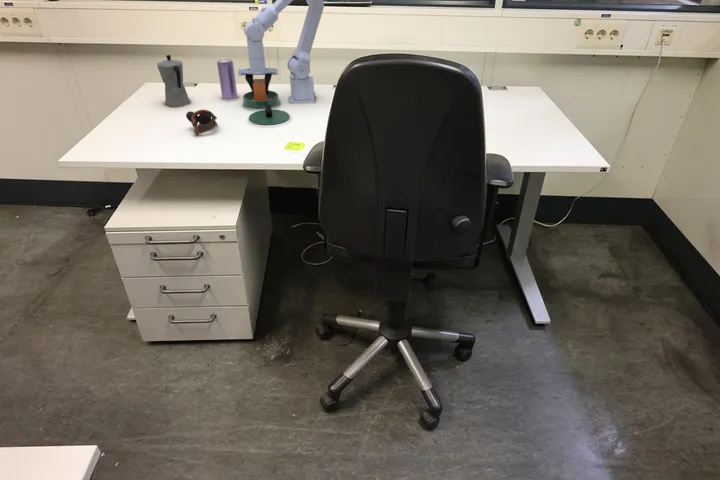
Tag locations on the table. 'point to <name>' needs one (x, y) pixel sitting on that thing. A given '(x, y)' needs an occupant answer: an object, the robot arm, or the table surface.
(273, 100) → the lunch tin
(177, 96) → the coffeepot
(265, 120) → the tin lid
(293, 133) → the table surface
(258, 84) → the juice carton
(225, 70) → the beverage can
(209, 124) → the pottery mug
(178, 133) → the table surface
